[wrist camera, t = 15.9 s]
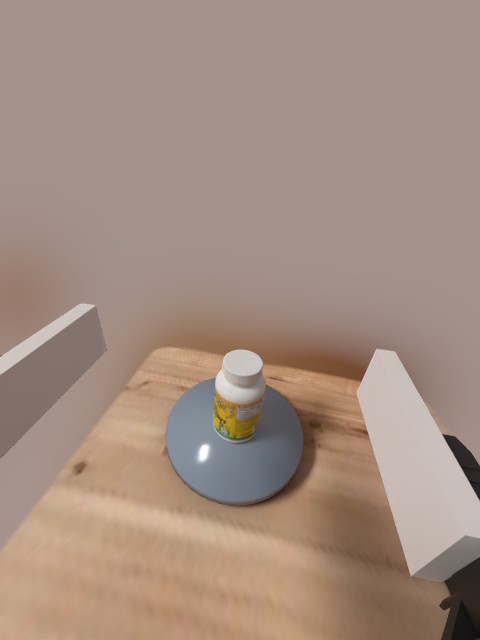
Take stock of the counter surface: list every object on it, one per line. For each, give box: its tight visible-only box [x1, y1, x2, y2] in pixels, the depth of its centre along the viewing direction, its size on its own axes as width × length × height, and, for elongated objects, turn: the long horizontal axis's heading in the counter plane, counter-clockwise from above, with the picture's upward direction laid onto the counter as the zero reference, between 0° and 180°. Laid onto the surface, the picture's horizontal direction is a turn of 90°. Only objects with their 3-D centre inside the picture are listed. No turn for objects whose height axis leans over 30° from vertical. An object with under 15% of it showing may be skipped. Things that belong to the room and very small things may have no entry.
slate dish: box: [166, 378, 304, 505], centre depth 31 cm, size 16×16×2 cm
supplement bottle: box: [213, 350, 266, 443], centre depth 28 cm, size 5×5×10 cm
